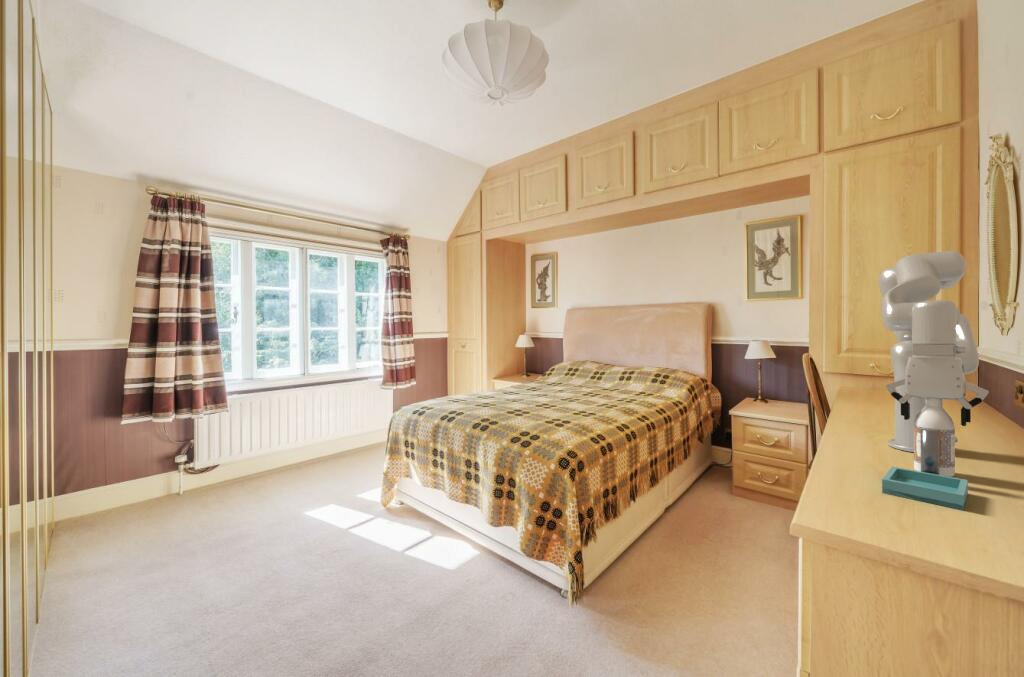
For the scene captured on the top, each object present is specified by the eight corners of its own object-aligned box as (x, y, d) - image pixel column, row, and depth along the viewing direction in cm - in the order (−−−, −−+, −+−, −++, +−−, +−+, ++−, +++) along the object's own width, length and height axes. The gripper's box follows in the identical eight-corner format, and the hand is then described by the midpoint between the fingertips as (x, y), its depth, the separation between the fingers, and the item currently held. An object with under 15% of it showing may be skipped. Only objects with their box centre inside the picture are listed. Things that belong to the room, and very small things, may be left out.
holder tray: (892, 478, 97) (892, 466, 97) (967, 493, 88) (967, 480, 88) (882, 492, 89) (882, 479, 89) (963, 510, 80) (963, 495, 80)
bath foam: (907, 470, 102) (906, 390, 102) (925, 467, 104) (925, 389, 104) (943, 480, 96) (943, 395, 95) (961, 476, 98) (961, 392, 97)
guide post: (930, 477, 97) (930, 427, 97) (952, 485, 92) (952, 432, 92) (908, 477, 98) (908, 427, 97) (929, 485, 93) (929, 433, 92)
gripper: (988, 351, 95) (989, 425, 95) (888, 350, 108) (889, 415, 108) (987, 352, 90) (988, 430, 90) (883, 351, 104) (883, 418, 104)
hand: (934, 421), depth 99 cm, fingers open, 9 cm apart
